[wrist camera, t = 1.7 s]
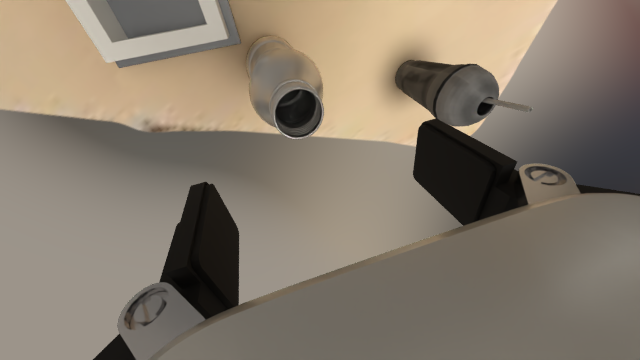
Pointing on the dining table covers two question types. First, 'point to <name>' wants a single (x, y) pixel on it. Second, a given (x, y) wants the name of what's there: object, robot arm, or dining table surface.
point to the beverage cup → (452, 91)
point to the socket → (155, 27)
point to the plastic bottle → (285, 87)
